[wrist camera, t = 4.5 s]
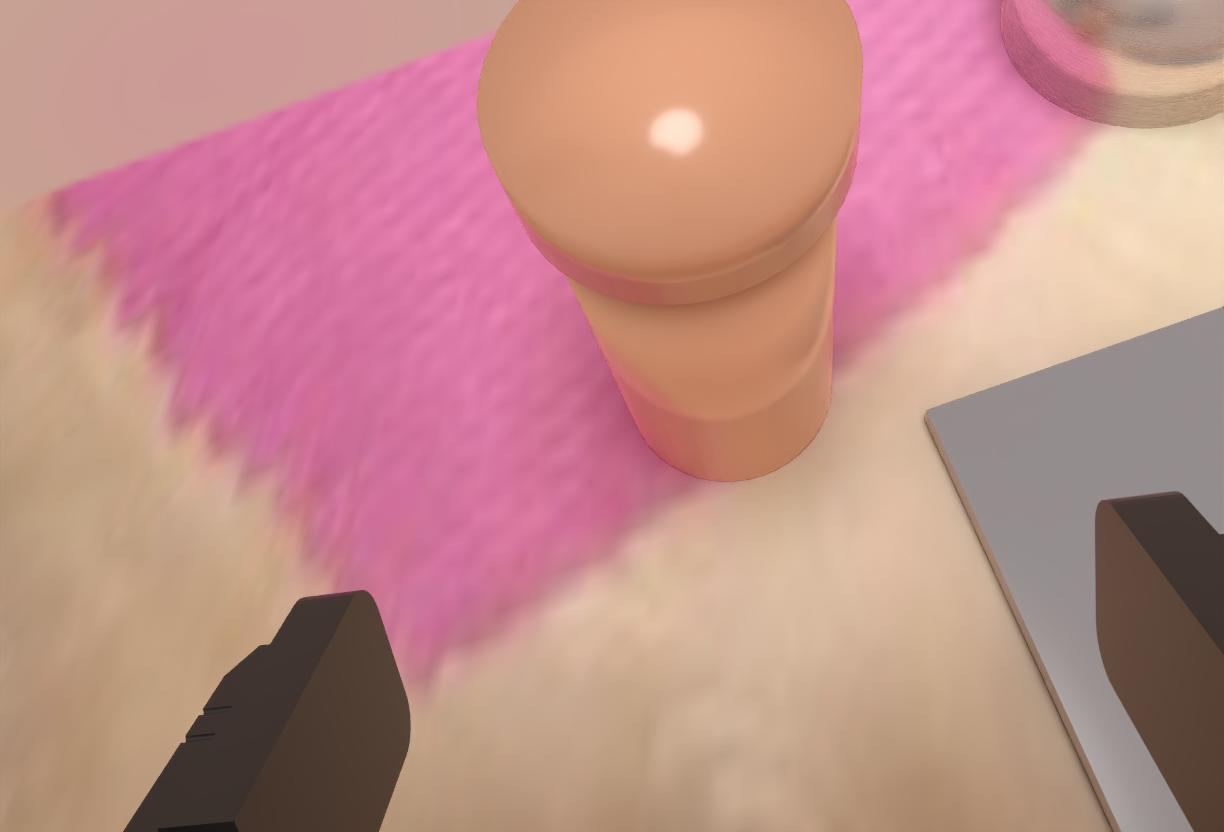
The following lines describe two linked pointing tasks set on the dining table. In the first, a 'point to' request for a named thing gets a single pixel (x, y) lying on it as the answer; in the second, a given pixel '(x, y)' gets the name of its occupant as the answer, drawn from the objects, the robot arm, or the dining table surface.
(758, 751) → the dining table surface
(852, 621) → the dining table surface
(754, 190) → the peach dome-topped cylinder
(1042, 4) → the metal tin
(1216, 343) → the slate coaster
